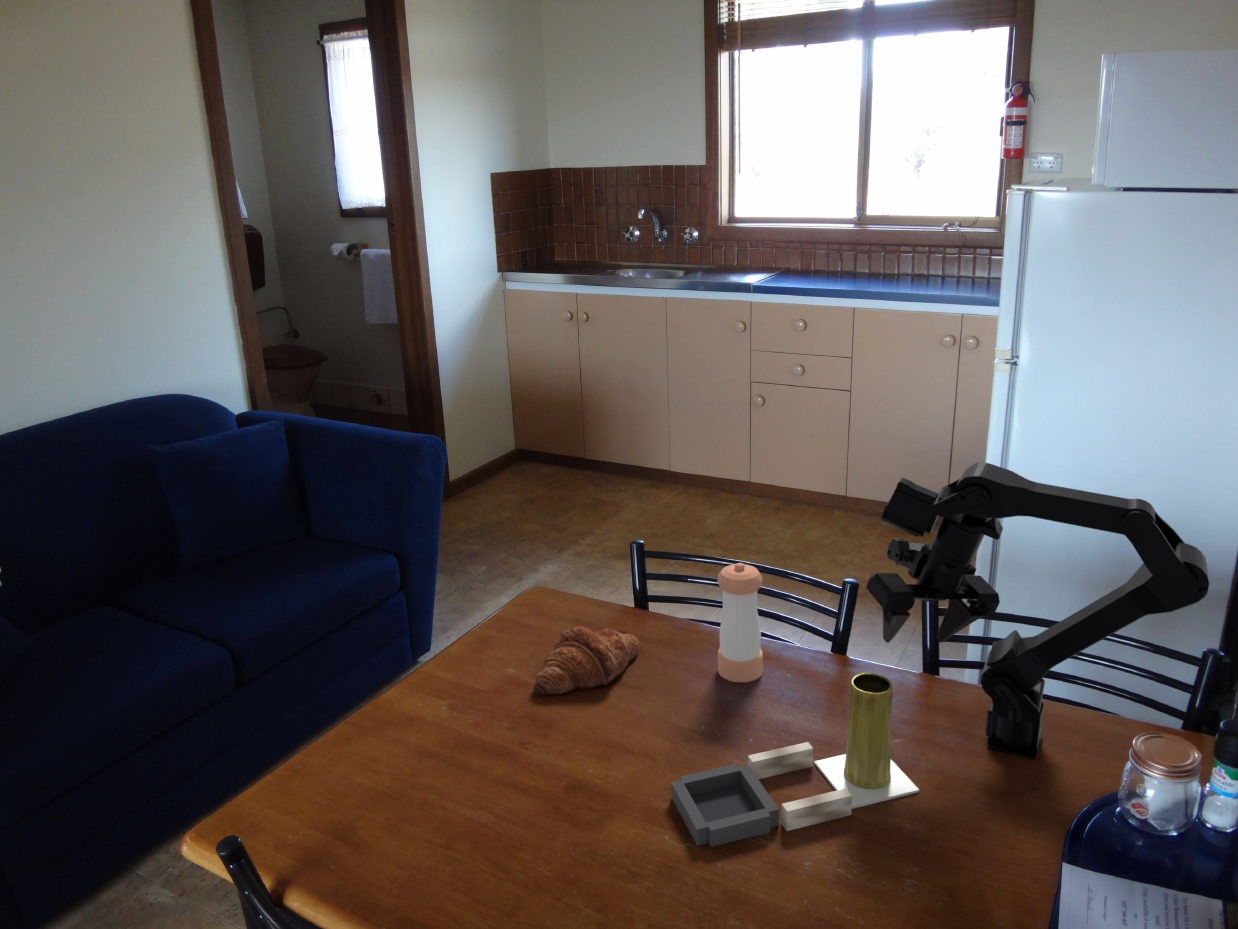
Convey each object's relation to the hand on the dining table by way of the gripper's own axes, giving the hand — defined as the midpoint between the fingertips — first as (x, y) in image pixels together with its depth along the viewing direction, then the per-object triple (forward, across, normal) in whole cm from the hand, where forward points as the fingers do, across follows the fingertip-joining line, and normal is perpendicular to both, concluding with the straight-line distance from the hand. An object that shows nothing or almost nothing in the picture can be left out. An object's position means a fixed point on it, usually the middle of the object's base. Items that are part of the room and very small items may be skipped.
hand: (912, 640), depth 136 cm
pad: (+13, +10, +13) cm, 21 cm away
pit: (+17, +30, +13) cm, 37 cm away
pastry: (+27, +36, -26) cm, 52 cm away
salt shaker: (+20, +14, -17) cm, 30 cm away
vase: (+13, +10, +13) cm, 21 cm away
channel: (+15, +20, +13) cm, 28 cm away
